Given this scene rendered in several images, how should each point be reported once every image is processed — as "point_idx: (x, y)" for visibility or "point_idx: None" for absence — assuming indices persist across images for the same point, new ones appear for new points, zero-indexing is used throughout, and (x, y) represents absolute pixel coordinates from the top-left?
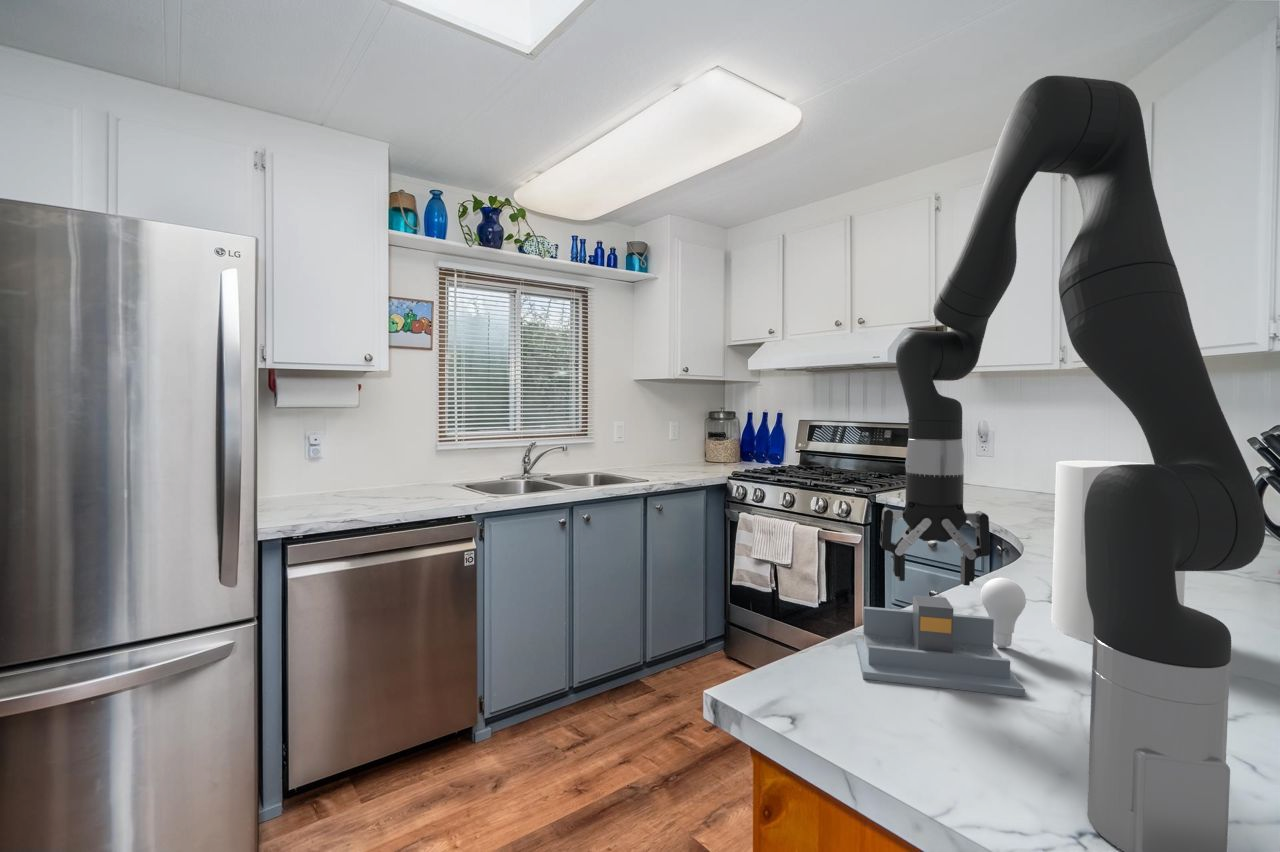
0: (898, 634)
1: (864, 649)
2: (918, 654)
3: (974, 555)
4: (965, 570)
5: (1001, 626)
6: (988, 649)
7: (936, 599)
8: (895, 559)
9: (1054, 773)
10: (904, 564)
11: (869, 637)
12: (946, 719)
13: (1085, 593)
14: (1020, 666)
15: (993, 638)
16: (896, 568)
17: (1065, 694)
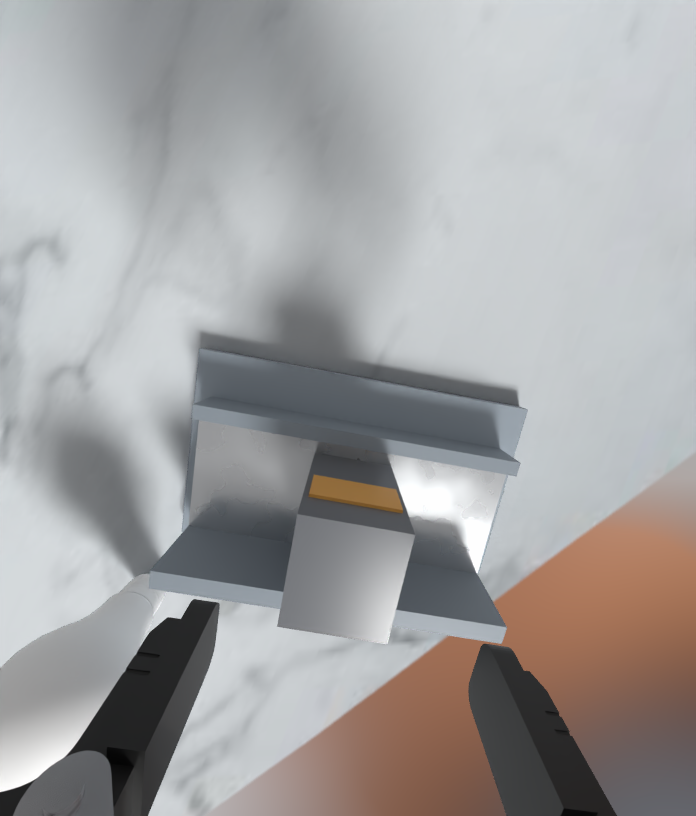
0: None
1: None
2: (403, 440)
3: (38, 797)
4: (179, 670)
5: (128, 606)
6: (207, 505)
7: (319, 605)
8: (595, 788)
9: (293, 15)
10: (531, 736)
11: (471, 553)
12: (414, 232)
13: None
14: (153, 493)
15: (161, 596)
16: (551, 717)
17: (115, 367)
